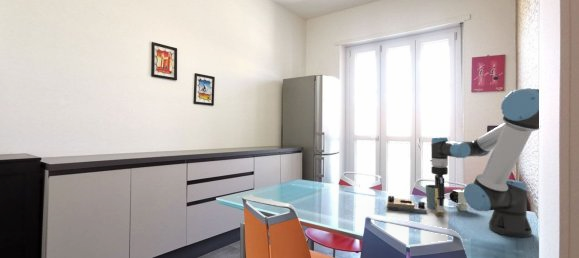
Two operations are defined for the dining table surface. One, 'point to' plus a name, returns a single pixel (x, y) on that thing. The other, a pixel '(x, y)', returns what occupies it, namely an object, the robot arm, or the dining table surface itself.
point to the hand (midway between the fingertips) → (439, 209)
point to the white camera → (459, 199)
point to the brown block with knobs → (405, 205)
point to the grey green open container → (431, 195)
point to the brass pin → (437, 204)
